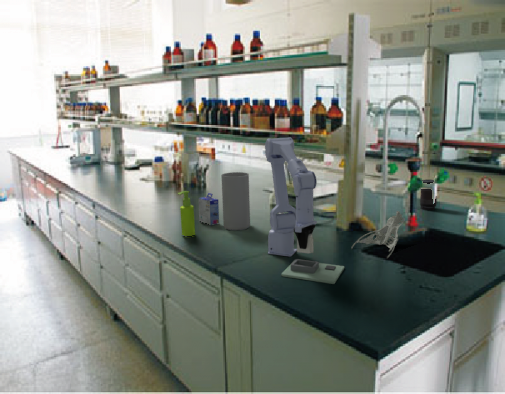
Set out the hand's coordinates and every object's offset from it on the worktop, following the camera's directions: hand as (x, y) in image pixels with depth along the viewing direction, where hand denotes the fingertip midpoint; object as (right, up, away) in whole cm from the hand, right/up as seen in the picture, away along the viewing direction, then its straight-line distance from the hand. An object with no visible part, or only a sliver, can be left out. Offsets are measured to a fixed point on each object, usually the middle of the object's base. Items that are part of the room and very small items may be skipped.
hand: (304, 246), depth 147 cm
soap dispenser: (-47, 0, +45) cm, 65 cm away
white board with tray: (+3, -9, 0) cm, 9 cm away
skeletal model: (+35, -3, +25) cm, 43 cm away
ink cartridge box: (-39, +4, +64) cm, 75 cm away
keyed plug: (0, -2, 0) cm, 2 cm away
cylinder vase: (-25, +3, +56) cm, 61 cm away
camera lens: (+74, +11, +79) cm, 109 cm away
